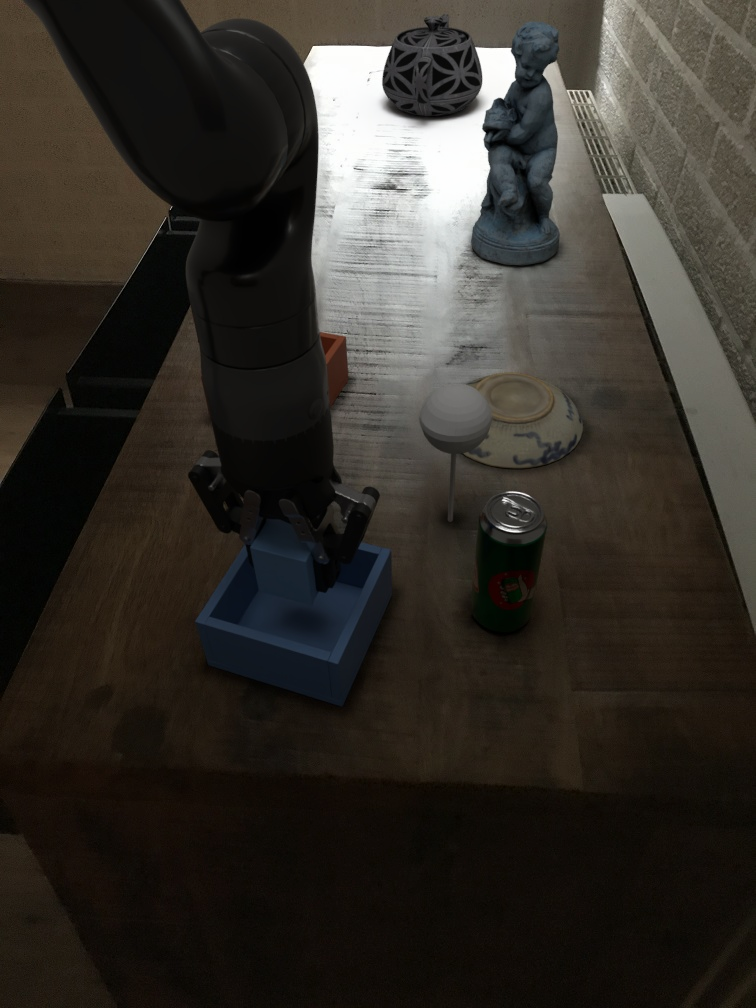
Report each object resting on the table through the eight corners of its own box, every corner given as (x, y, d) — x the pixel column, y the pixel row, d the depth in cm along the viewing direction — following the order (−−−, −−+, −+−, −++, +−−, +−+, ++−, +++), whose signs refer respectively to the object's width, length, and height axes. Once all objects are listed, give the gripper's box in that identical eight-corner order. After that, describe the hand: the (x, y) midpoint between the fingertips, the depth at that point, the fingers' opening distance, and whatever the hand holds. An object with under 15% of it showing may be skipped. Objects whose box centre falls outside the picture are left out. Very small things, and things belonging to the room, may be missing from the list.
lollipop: (452, 488, 78) (459, 359, 67) (496, 521, 74) (510, 390, 64) (404, 518, 75) (404, 389, 64) (447, 553, 72) (455, 423, 61)
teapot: (489, 80, 164) (495, -4, 154) (471, 134, 143) (476, 41, 133) (399, 76, 168) (398, -6, 157) (368, 129, 146) (365, 37, 136)
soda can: (486, 580, 69) (497, 478, 61) (540, 602, 67) (559, 501, 59) (459, 620, 66) (467, 520, 58) (515, 645, 64) (532, 545, 56)
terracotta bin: (210, 420, 86) (200, 376, 82) (257, 361, 94) (250, 318, 90) (308, 442, 83) (303, 397, 79) (348, 379, 91) (346, 336, 87)
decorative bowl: (610, 424, 84) (503, 364, 92) (617, 396, 82) (506, 336, 90) (517, 492, 77) (410, 421, 85) (521, 464, 75) (410, 394, 83)
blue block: (258, 591, 61) (249, 547, 57) (282, 550, 64) (275, 506, 60) (311, 606, 60) (305, 562, 56) (333, 563, 63) (329, 519, 59)
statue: (472, 288, 112) (490, 125, 87) (462, 168, 122) (476, -9, 97) (559, 284, 112) (602, 120, 87) (542, 165, 121) (577, -14, 96)
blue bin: (208, 665, 64) (194, 621, 60) (270, 562, 71) (262, 516, 67) (342, 707, 61) (337, 664, 57) (392, 594, 68) (391, 549, 64)
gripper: (397, 384, 50) (399, 563, 62) (197, 346, 54) (235, 521, 66) (354, 459, 45) (365, 638, 57) (137, 411, 49) (190, 588, 61)
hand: (295, 575), depth 61 cm, fingers closed on blue block, 4 cm apart
